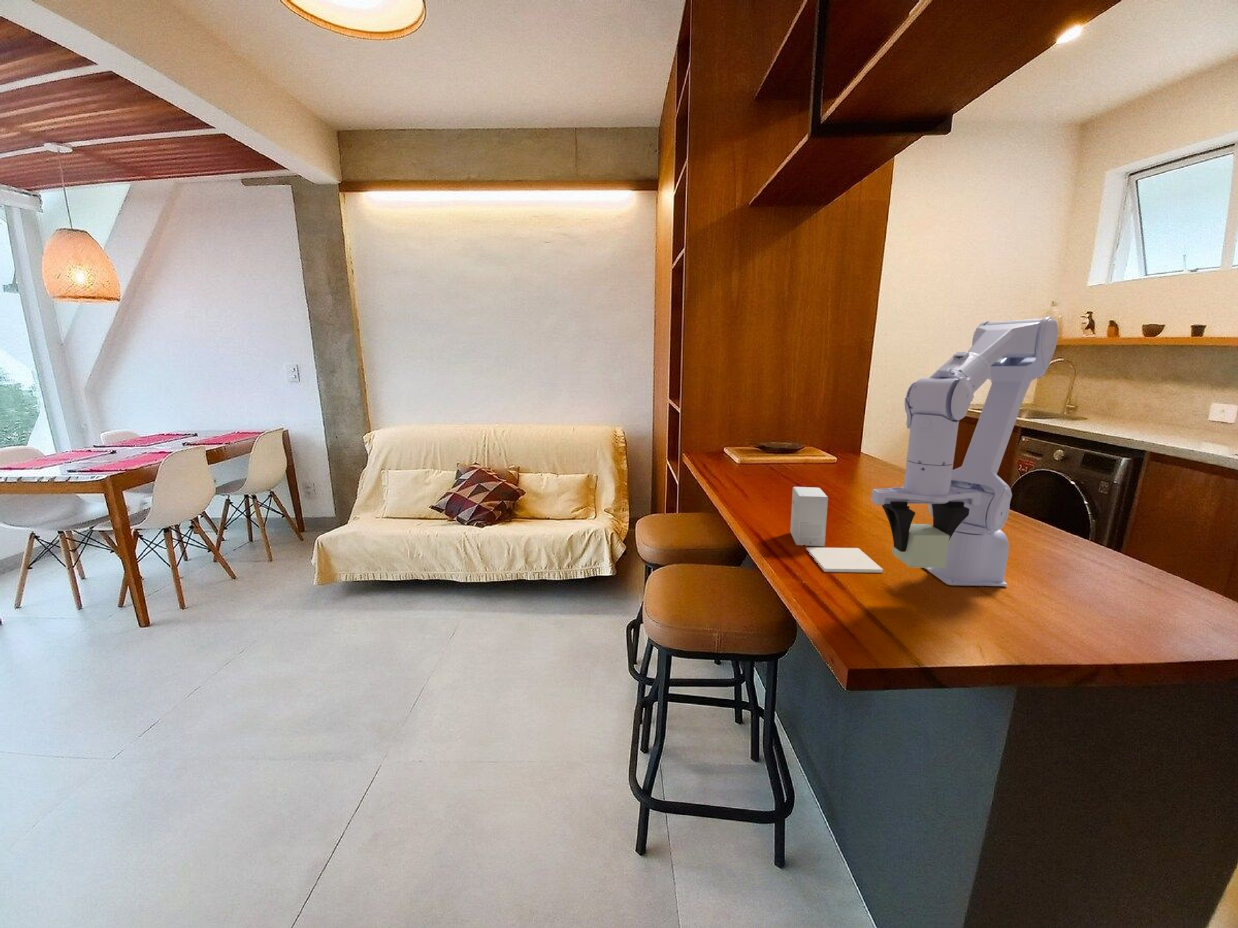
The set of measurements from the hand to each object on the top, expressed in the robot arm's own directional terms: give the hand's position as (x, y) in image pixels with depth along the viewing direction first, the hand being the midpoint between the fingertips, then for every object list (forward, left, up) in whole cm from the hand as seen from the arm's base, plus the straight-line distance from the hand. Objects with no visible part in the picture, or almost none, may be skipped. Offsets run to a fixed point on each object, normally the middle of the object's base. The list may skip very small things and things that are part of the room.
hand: (918, 549), depth 71 cm
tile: (+5, -15, -8) cm, 18 cm away
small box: (+8, -26, -9) cm, 28 cm away
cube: (0, 0, -2) cm, 2 cm away
